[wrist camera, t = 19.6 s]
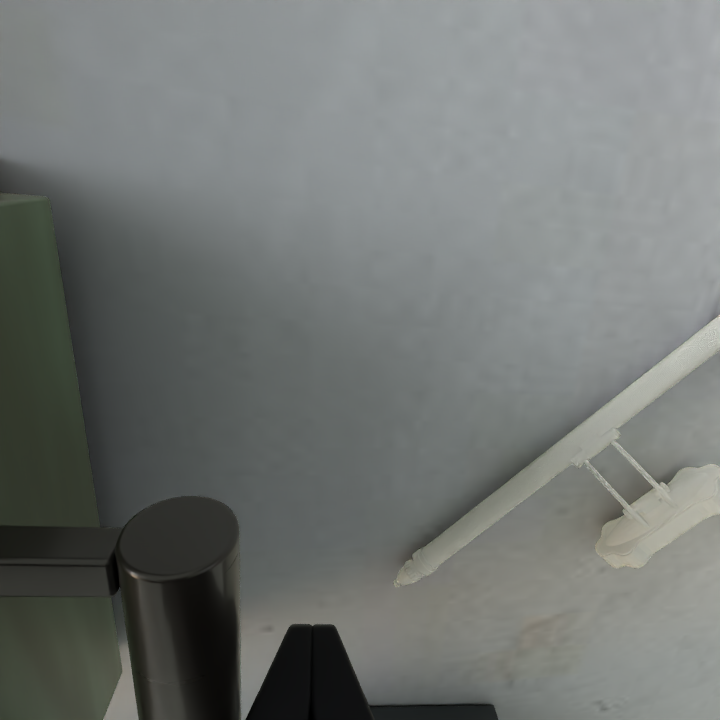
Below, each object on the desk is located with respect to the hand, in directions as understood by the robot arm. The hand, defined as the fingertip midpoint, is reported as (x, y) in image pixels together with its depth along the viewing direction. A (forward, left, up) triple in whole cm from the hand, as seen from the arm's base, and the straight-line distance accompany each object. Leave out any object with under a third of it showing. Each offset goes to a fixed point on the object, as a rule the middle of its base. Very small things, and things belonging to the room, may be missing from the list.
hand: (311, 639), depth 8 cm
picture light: (-8, -1, -5) cm, 10 cm away
